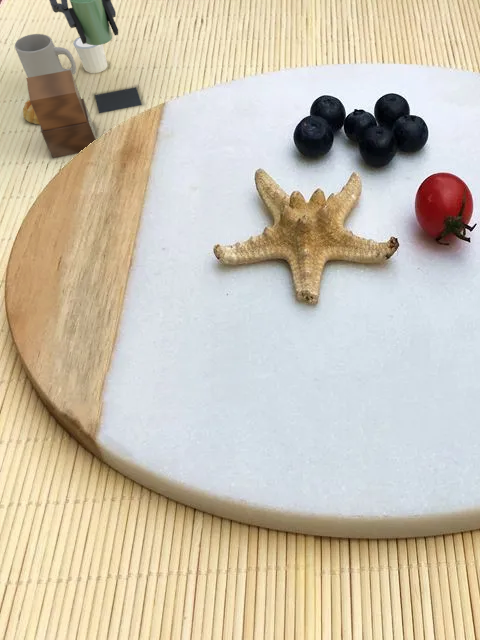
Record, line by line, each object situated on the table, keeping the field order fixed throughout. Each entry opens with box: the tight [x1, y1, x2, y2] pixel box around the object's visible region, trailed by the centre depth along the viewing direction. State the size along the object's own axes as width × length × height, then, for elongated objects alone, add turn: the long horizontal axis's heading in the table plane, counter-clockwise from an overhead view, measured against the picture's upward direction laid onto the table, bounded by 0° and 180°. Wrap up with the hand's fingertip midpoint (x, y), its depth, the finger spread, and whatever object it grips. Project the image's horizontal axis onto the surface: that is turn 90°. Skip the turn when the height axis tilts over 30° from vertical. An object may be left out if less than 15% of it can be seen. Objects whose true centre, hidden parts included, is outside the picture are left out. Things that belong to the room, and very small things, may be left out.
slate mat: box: [94, 87, 143, 114], centre depth 163 cm, size 10×8×1 cm
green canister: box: [69, 0, 114, 45], centre depth 147 cm, size 6×6×9 cm
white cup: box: [72, 36, 108, 74], centre depth 169 cm, size 7×7×7 cm
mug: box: [14, 33, 77, 78], centre depth 162 cm, size 12×8×11 cm
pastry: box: [22, 99, 40, 126], centre depth 157 cm, size 9×7×4 cm
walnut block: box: [25, 70, 97, 159], centre depth 148 cm, size 10×10×14 cm
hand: (100, 36), depth 147 cm, fingers closed on green canister, 6 cm apart
